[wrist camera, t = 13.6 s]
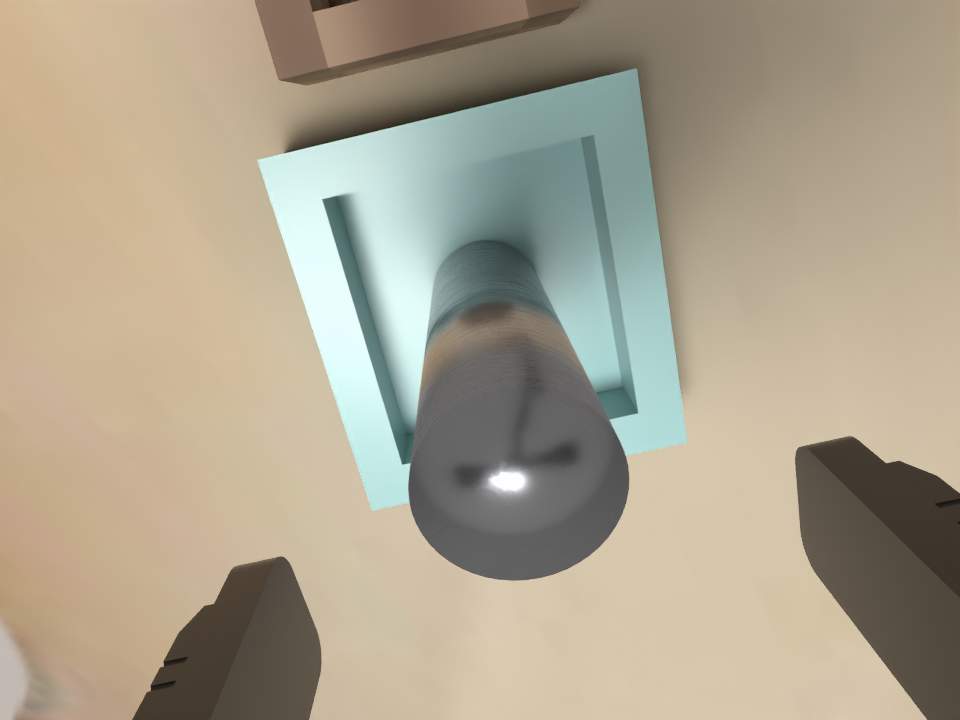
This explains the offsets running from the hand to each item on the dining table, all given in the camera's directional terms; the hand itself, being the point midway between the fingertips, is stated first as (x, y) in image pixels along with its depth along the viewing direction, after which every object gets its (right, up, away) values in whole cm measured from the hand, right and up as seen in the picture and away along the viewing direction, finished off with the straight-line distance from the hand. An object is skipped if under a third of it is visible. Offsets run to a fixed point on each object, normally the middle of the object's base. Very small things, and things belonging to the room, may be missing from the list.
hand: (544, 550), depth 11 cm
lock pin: (-1, +5, +15) cm, 16 cm away
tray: (-1, +6, +16) cm, 17 cm away
